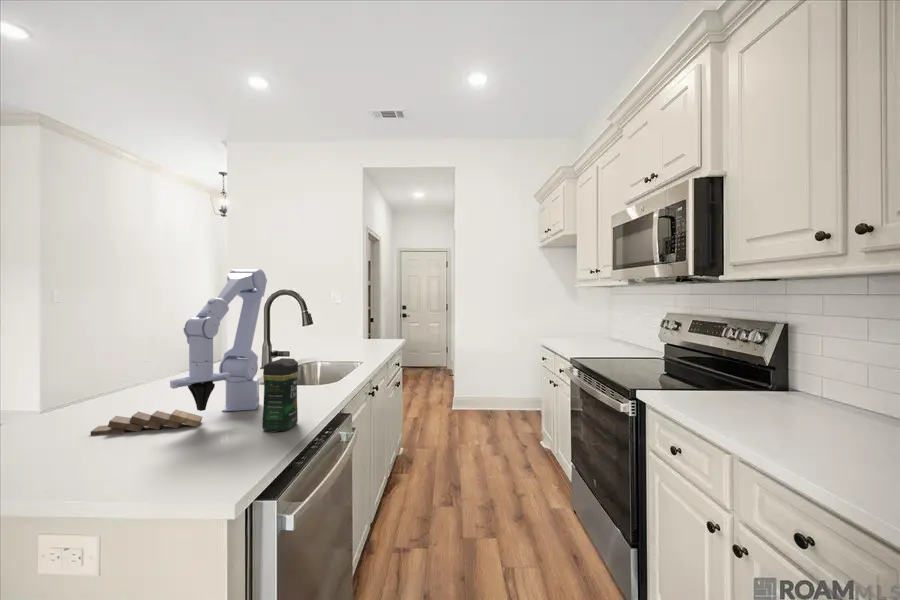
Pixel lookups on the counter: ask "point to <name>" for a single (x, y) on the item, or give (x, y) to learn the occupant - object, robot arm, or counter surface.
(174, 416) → the tile
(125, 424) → the brown rectangular block
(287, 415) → the coffee jar
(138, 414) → the brown rectangular block
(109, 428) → the wood grain rectangular block
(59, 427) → the counter surface
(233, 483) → the counter surface
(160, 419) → the tile
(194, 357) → the robot arm
